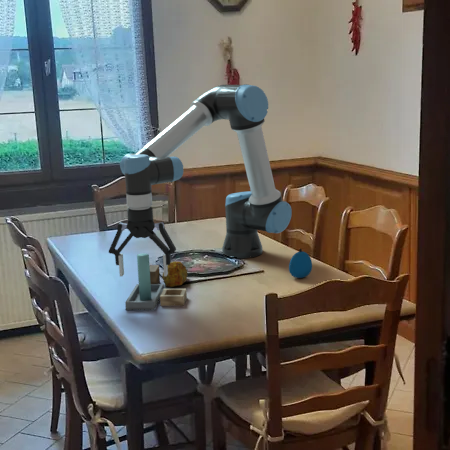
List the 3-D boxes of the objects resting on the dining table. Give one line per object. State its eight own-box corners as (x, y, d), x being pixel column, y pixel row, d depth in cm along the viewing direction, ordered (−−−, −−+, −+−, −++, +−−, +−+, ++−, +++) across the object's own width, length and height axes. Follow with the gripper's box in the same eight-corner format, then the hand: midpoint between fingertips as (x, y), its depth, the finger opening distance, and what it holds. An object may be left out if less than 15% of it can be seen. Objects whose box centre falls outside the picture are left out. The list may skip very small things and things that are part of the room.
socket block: (186, 297, 215) (186, 288, 214) (183, 305, 208) (183, 296, 208) (164, 297, 216) (163, 288, 215) (160, 305, 209) (160, 296, 208)
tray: (163, 291, 221) (163, 284, 221) (154, 310, 205) (153, 302, 205) (137, 291, 222) (136, 284, 222) (125, 310, 206) (125, 302, 205)
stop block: (160, 282, 231) (159, 265, 229) (156, 289, 224) (155, 271, 222) (151, 282, 231) (150, 265, 229) (147, 289, 224) (146, 271, 223)
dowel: (152, 296, 215) (149, 253, 212) (150, 300, 212) (147, 256, 208) (140, 296, 215) (138, 253, 212) (138, 300, 212) (135, 256, 209)
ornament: (308, 274, 234) (308, 245, 232) (314, 277, 230) (314, 248, 228) (286, 277, 232) (285, 248, 229) (292, 281, 227) (292, 252, 225)
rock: (160, 295, 230) (161, 268, 236) (185, 297, 232) (185, 270, 237) (165, 280, 221) (166, 253, 226) (191, 282, 223) (191, 255, 228)
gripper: (183, 203, 209) (186, 271, 214) (101, 204, 211) (106, 271, 216) (179, 209, 202) (182, 278, 207) (95, 210, 204) (100, 279, 209)
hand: (143, 275), depth 212 cm, fingers open, 13 cm apart
